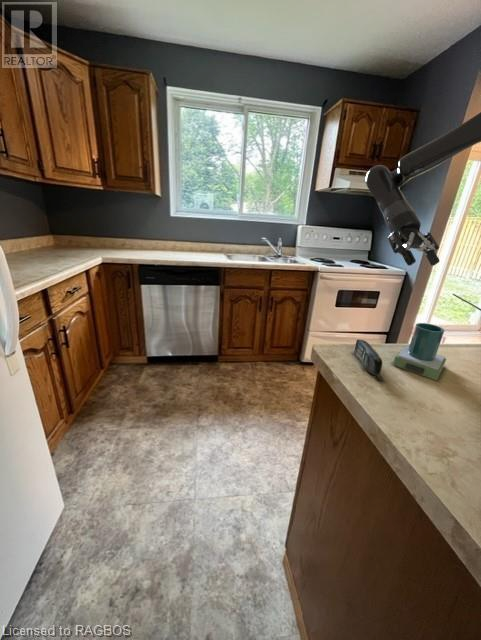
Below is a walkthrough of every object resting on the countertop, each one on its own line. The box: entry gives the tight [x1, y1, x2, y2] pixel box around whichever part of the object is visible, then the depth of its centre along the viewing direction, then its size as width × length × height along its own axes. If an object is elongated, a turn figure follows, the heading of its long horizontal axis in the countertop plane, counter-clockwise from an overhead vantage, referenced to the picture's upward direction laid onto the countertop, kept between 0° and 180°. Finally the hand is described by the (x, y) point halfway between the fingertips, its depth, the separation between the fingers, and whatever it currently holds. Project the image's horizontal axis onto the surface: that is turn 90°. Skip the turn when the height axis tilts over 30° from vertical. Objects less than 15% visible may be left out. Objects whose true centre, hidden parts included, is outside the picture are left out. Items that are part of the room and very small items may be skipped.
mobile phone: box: [353, 339, 384, 381], centre depth 72 cm, size 5×3×15 cm
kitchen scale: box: [392, 345, 447, 381], centre depth 73 cm, size 11×10×3 cm
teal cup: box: [408, 322, 445, 361], centre depth 71 cm, size 6×6×8 cm
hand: (424, 263), depth 75 cm, fingers open, 8 cm apart
